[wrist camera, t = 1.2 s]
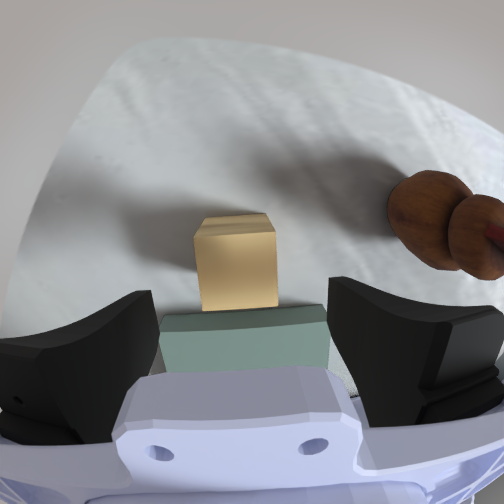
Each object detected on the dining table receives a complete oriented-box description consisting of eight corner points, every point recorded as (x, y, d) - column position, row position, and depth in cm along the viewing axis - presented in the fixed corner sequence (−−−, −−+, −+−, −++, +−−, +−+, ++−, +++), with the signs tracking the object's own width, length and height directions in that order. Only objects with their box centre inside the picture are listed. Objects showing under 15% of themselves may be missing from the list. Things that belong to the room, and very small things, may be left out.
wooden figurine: (361, 200, 22) (512, 262, 7) (409, 155, 21) (567, 170, 6) (404, 261, 23) (528, 355, 9) (446, 218, 22) (580, 275, 8)
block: (268, 270, 23) (278, 305, 17) (211, 274, 23) (202, 311, 17) (265, 213, 22) (275, 231, 16) (205, 217, 22) (193, 237, 16)
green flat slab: (315, 398, 27) (321, 419, 24) (187, 406, 27) (183, 428, 24) (321, 302, 24) (331, 320, 21) (165, 313, 24) (156, 332, 21)
